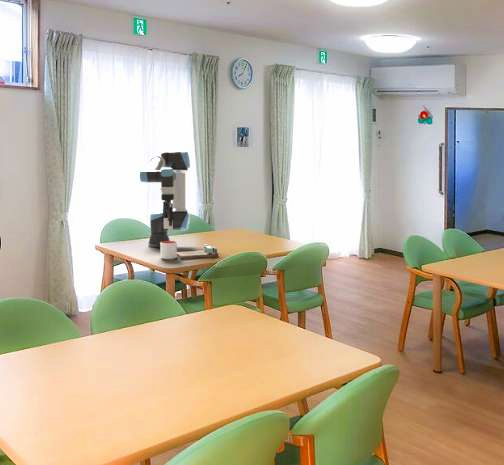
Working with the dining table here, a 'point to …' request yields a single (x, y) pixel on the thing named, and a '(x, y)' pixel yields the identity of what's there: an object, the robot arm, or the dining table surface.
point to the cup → (168, 249)
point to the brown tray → (197, 254)
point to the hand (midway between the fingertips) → (168, 229)
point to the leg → (208, 248)
